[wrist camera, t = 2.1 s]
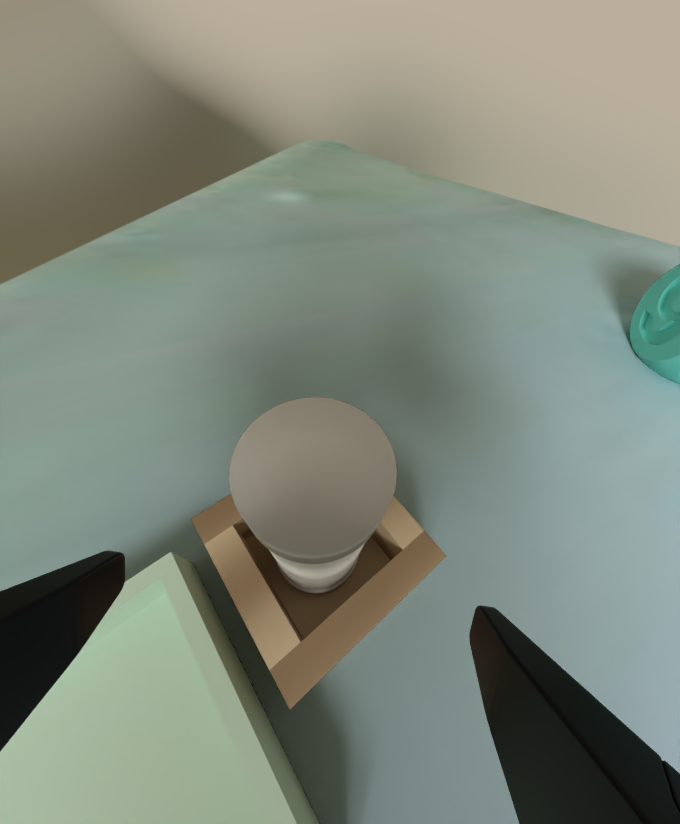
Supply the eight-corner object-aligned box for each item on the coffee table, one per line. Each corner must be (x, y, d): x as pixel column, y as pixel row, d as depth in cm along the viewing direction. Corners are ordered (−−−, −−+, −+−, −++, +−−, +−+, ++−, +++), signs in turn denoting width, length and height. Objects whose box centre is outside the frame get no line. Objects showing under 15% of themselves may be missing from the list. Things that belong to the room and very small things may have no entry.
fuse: (372, 558, 17) (431, 480, 8) (307, 615, 16) (289, 597, 7) (326, 496, 19) (330, 375, 10) (263, 542, 17) (199, 448, 8)
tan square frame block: (423, 569, 18) (446, 555, 15) (296, 691, 15) (289, 710, 12) (332, 458, 21) (334, 427, 18) (214, 538, 18) (190, 518, 15)
